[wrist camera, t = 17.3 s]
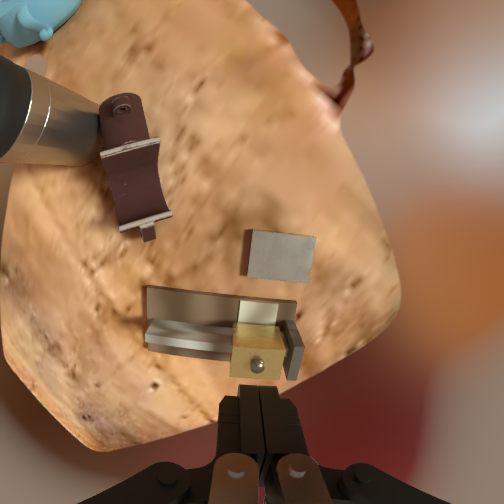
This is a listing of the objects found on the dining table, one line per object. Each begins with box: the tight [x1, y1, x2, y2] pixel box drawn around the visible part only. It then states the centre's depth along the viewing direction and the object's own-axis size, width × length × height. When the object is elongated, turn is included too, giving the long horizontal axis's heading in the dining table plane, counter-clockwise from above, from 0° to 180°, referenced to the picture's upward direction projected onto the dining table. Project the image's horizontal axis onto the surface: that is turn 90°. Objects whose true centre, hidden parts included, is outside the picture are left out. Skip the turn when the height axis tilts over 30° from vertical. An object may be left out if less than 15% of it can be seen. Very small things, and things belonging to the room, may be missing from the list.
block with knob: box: [230, 323, 286, 380], centre depth 34 cm, size 6×4×7 cm
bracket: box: [99, 93, 173, 242], centre depth 30 cm, size 6×17×10 cm, turn 18°
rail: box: [145, 285, 305, 380], centre depth 35 cm, size 20×10×8 cm, turn 83°
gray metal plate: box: [247, 229, 316, 283], centre depth 37 cm, size 8×6×1 cm
